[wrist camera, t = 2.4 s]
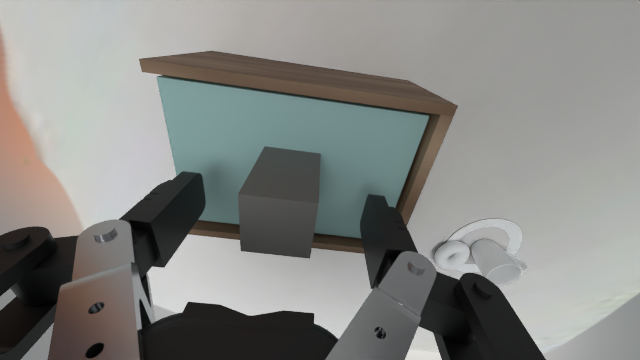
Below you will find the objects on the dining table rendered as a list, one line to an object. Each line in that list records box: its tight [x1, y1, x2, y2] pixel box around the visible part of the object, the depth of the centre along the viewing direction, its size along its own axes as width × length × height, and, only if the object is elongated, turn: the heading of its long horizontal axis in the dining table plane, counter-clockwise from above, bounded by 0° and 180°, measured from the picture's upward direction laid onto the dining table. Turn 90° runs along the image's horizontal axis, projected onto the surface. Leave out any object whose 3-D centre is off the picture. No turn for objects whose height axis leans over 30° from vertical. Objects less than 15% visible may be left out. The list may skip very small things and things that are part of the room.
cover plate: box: [157, 75, 429, 258], centre depth 12 cm, size 8×13×5 cm, turn 82°
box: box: [139, 51, 458, 253], centre depth 16 cm, size 10×14×7 cm
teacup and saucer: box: [434, 219, 527, 286], centre depth 24 cm, size 9×8×4 cm
